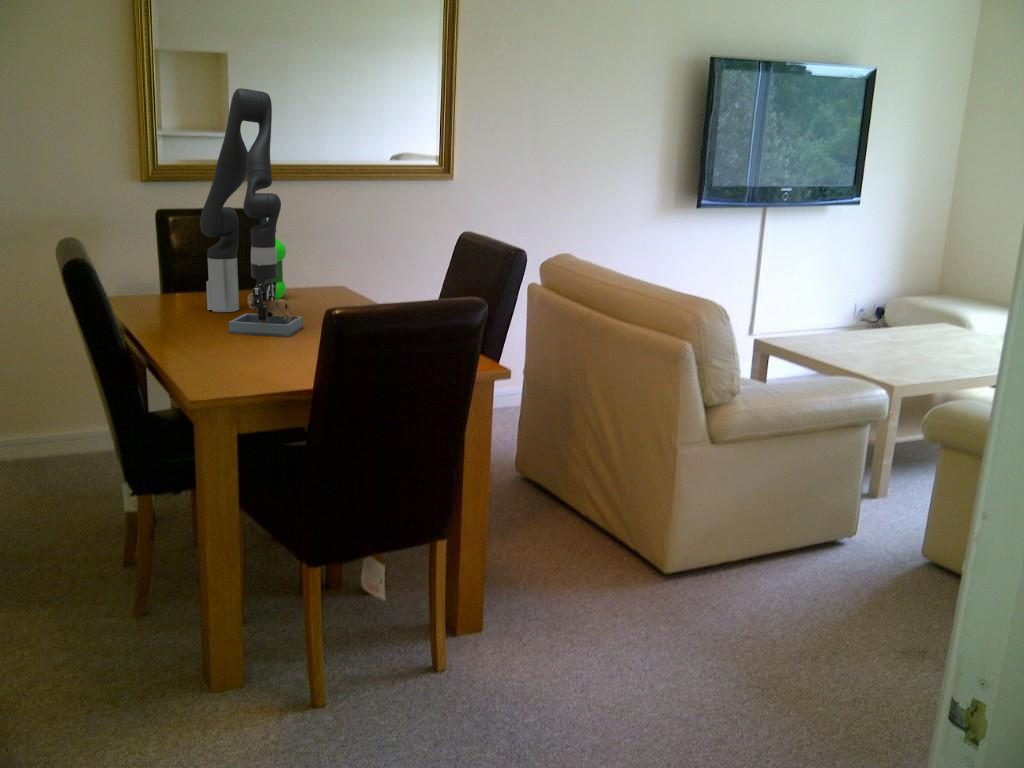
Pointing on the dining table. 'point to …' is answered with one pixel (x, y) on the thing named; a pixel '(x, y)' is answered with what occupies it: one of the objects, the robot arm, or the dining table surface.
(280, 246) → the plastic bottle
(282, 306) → the lion figurine
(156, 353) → the dining table surface
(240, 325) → the tray
